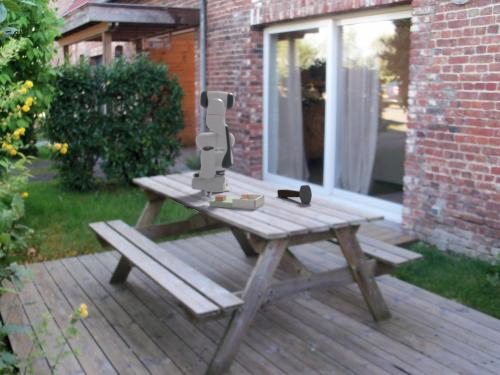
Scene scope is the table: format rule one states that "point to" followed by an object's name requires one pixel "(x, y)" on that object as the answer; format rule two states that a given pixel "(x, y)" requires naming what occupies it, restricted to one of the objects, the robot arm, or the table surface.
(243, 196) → the tile
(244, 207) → the tray
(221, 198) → the tile
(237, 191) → the table surface
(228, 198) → the board
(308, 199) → the hammer
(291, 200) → the table surface
